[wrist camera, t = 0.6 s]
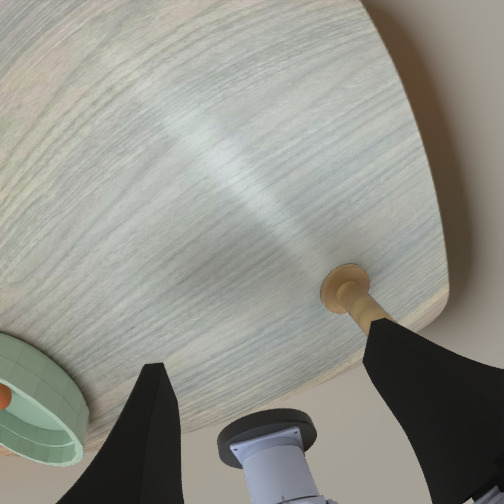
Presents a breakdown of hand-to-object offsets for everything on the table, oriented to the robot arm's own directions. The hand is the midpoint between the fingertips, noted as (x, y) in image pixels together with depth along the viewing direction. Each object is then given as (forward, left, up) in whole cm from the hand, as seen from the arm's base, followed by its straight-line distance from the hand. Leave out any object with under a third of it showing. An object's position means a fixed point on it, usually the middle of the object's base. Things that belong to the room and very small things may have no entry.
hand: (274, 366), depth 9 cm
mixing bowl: (-6, +21, -9) cm, 24 cm away
